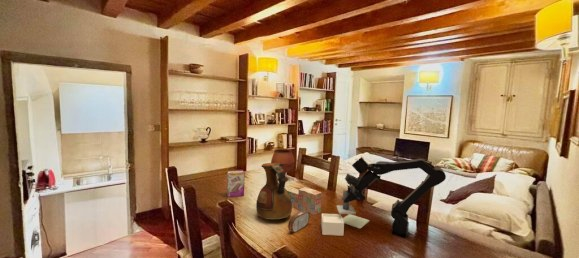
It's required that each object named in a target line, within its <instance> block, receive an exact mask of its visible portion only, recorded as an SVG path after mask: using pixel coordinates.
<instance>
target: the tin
mask: <svg viewBox="0 0 579 258" xmlns="http://www.w3.org/2000/svg"><path fill="white" fill-rule="evenodd" d="M309 221H310V213H308V212H307V211H305V210H300V211H298V212H296V213H294V214H293V215H292V216H290V218H289V220H288V223H287V229H288V231H289V232H292V233H297V232H298V231H300V230H302V229H304V228H305V227H306V226H307V225H308V224H309Z"/></svg>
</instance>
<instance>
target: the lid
mask: <svg viewBox="0 0 579 258" xmlns="http://www.w3.org/2000/svg"><path fill="white" fill-rule="evenodd" d="M349 194H350V192H349V191H347V190H343V193H342V198H343V199H342V204H341V205H336V209H337V212H338V214H341V215H342V214H343V215H346V214H347V215H348V214H351V215H356V213H357V212H356V210H355V207H354V206H353V205H350V202H346V203H344V200H345V198H346V197H347V196H348V195H349Z"/></svg>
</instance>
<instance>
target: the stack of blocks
mask: <svg viewBox="0 0 579 258" xmlns="http://www.w3.org/2000/svg"><path fill="white" fill-rule="evenodd" d="M287 191H288V193H289V195H290V198H291V201H292V208H294V209H297V210H300V211H302V210H305V211H307V212H308V213H309V215H313V216H317V215H318V214H320V213H321V212H322V211H321V210H322V209H321V207H322V205H321V204H322V192H321V191H318V190H316V189H313V188H309V187H305V186H304V187H302V188H299V189H297V188H291V189H288V190H287Z"/></svg>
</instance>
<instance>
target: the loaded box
mask: <svg viewBox="0 0 579 258" xmlns="http://www.w3.org/2000/svg"><path fill="white" fill-rule="evenodd" d="M320 226H321V233H322V235H324V236H325V235H326V236H338V237H339V236H343V237H344V234H345V233H344V232H345V231H344V230H345V223H344V222H343V216H342V214H339V213H321V221H320Z"/></svg>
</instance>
